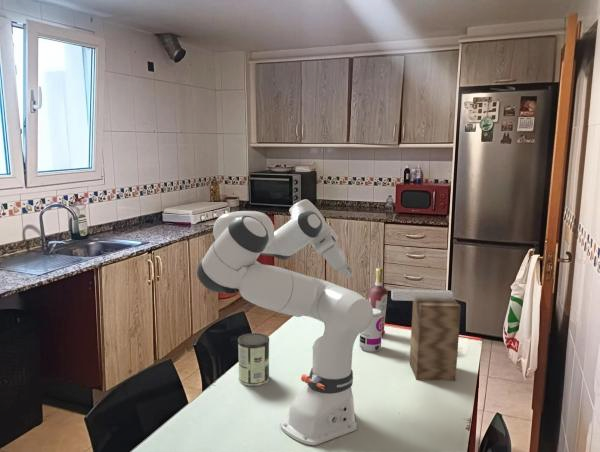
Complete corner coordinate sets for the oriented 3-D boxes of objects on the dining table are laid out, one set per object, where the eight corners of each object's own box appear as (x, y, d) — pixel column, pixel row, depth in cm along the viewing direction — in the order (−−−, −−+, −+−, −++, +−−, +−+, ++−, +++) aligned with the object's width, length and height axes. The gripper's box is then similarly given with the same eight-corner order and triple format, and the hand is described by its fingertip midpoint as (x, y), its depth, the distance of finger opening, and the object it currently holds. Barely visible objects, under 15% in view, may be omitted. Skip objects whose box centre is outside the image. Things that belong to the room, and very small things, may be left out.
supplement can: (384, 347, 193) (385, 310, 191) (375, 354, 186) (377, 316, 184) (365, 342, 198) (366, 306, 195) (355, 349, 191) (357, 311, 188)
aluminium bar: (392, 300, 167) (392, 291, 167) (391, 297, 170) (391, 289, 170) (452, 301, 167) (453, 293, 166) (449, 298, 170) (450, 290, 169)
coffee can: (254, 369, 173) (254, 330, 171) (275, 378, 166) (275, 338, 164) (231, 378, 165) (231, 338, 163) (252, 389, 158) (252, 347, 156)
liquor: (377, 339, 201) (380, 271, 196) (363, 334, 206) (366, 268, 201) (389, 335, 205) (392, 269, 201) (375, 329, 211) (378, 265, 206)
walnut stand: (416, 379, 167) (420, 305, 163) (409, 363, 179) (413, 294, 174) (455, 380, 167) (460, 306, 162) (446, 364, 178) (450, 295, 174)
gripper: (319, 243, 178) (342, 274, 179) (316, 251, 158) (341, 286, 158) (333, 232, 178) (357, 264, 178) (332, 239, 157) (358, 274, 158)
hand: (349, 274), depth 168 cm, fingers open, 8 cm apart
